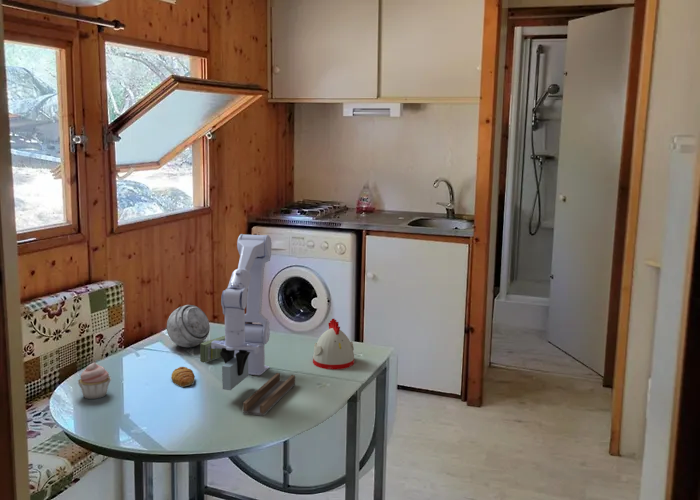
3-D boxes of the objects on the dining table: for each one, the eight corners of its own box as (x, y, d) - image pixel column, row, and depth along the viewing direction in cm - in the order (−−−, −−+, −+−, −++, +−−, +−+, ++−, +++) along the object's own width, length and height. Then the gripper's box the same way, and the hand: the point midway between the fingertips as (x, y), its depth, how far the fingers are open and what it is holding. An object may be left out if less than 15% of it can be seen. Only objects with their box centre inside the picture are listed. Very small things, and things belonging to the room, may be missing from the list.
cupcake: (109, 400, 194) (107, 367, 192) (75, 402, 193) (72, 368, 191) (115, 388, 203) (113, 356, 202) (82, 389, 202) (80, 357, 200)
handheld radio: (198, 361, 228) (252, 343, 247) (205, 364, 226) (258, 345, 246) (198, 342, 226) (252, 325, 246) (205, 345, 225) (258, 327, 244)
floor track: (243, 413, 187) (243, 402, 187) (276, 382, 210) (276, 373, 209) (263, 416, 186) (263, 405, 185) (295, 384, 208) (295, 375, 208)
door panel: (222, 389, 195) (222, 366, 194) (240, 374, 206) (240, 352, 205) (230, 390, 194) (230, 366, 193) (248, 375, 206) (248, 353, 204)
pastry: (199, 386, 207) (198, 374, 206) (177, 389, 204) (176, 377, 203) (190, 375, 215) (190, 364, 214) (169, 379, 212) (169, 367, 211)
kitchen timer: (321, 371, 220) (322, 327, 217) (307, 358, 232) (307, 315, 229) (360, 366, 225) (361, 322, 222) (344, 353, 238) (345, 312, 235)
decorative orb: (191, 355, 233) (190, 313, 230) (158, 349, 239) (156, 307, 236) (217, 343, 246) (216, 303, 243) (185, 337, 252) (184, 298, 249)
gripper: (205, 330, 195) (206, 375, 198) (252, 335, 191) (252, 381, 194) (217, 323, 202) (218, 367, 205) (262, 328, 198) (262, 373, 201)
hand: (235, 373), depth 200 cm, fingers closed on door panel, 2 cm apart
